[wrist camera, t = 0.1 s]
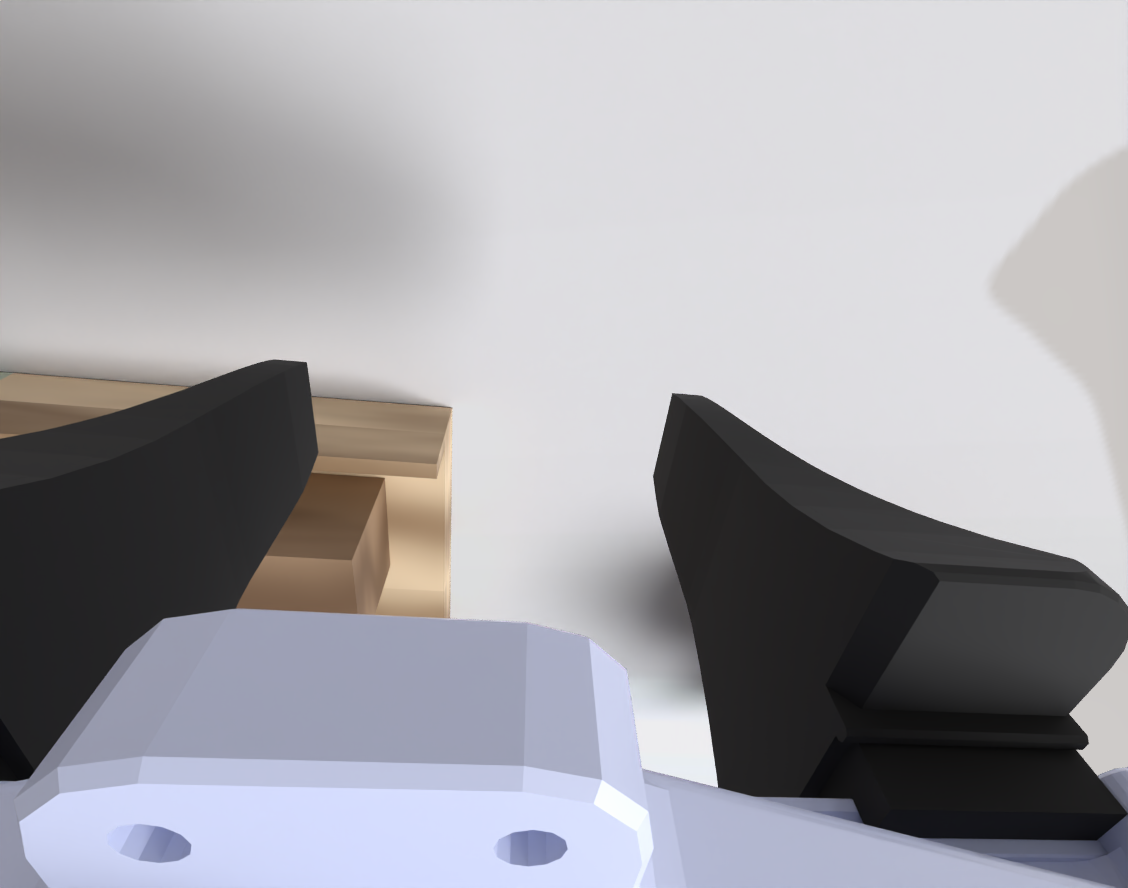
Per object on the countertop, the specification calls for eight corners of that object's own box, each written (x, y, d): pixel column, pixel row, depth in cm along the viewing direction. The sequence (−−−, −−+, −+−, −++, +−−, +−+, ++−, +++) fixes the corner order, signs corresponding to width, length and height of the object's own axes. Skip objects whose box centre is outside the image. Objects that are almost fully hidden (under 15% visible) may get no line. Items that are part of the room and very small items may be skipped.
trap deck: (449, 632, 29) (437, 703, 26) (28, 613, 27) (-44, 686, 24) (452, 408, 23) (436, 464, 19) (-106, 363, 21) (-233, 416, 17)
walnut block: (390, 565, 24) (362, 655, 20) (279, 559, 24) (229, 649, 20) (384, 477, 22) (351, 560, 18) (261, 469, 21) (200, 552, 18)
